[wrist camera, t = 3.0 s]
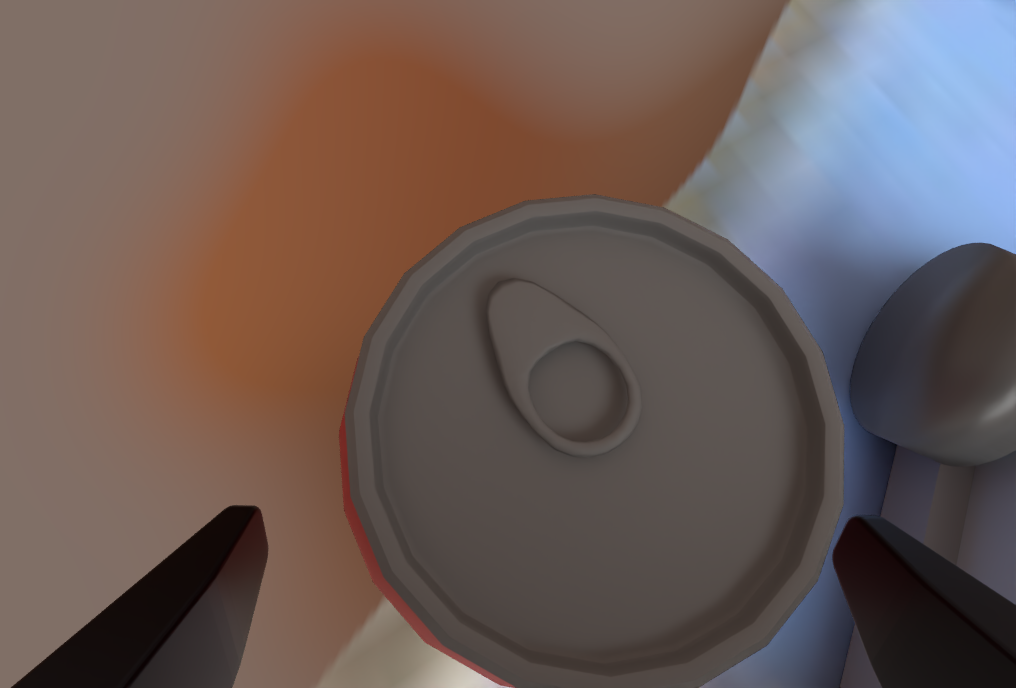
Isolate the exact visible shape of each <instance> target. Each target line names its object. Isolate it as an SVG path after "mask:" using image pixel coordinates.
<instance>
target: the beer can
mask: <svg viewBox="0 0 1016 688" xmlns="http://www.w3.org/2000/svg"><path fill="white" fill-rule="evenodd" d="M339 443H340V458H341V473H342V488H343V502H344V511H345V514H346V517H347V519H348V521H349V524H350V527H351V529H352V532H353V534H354V536H355V539H356V541H357V544H358V546H359V549H360V551H361V554H362V556H363V559H364V561H365V563H366V566H367V568H368V571H369V573H370V576H371V578H372V581H373V583H374V584H375V585H376V586H377V587H378V589H379V590H380V591H381V592H382V593H383V594H384V595H385V597H386V598H387V599H388V600H389V601H390V602H391V604H392V605H393V606H394V607H395V608H396V609H397V611H398V612H399V613H400V614H401V615H402V616H403V617H404V619H405V620H406V621H407V622H408V623H409V624H410V626H411V627H412V628H413V629H414V630H415V631H416V633H417V634H418V635H419V636H420V637H421V638H422V639H423V641H424V642H425V643H427V644H429V645H431V646H432V647H434V648H436V649H438V650H439V651H441V652H443V653H444V654H446V655H448V656H450V657H451V658H453V659H455V660H457V661H458V662H460V663H462V664H464V665H465V666H467V667H469V668H471V669H472V670H474V671H476V672H478V673H479V674H481V675H483V676H485V677H486V678H488V679H490V680H491V681H493V682H495V683H497V684H499V685H501V686H507V687H513V688H699V687H700V686H702V685H703V684H705V683H707V682H708V681H710V680H712V679H713V678H715V677H717V676H718V675H720V674H721V673H723V672H725V671H726V670H728V669H730V668H731V667H733V666H734V665H736V664H738V663H739V662H741V661H743V660H744V659H746V658H748V657H749V656H751V655H752V654H754V653H756V652H757V651H759V650H761V649H762V648H764V647H765V646H767V645H768V644H769V642H770V641H771V640H772V639H773V637H774V636H775V635H776V633H777V632H778V631H779V630H780V628H781V627H782V626H783V624H784V623H785V622H786V621H787V619H788V618H789V617H790V616H791V614H792V613H793V612H794V610H795V609H796V608H797V607H798V605H799V604H800V603H801V602H802V600H803V599H804V598H805V596H806V595H807V594H808V593H809V591H810V590H811V589H812V587H813V586H814V585H815V584H816V582H817V581H818V578H819V575H820V572H821V570H822V567H823V564H824V561H825V558H826V555H827V552H828V549H829V546H830V543H831V540H832V537H833V534H834V531H835V528H836V525H837V522H838V519H839V516H840V513H841V510H842V507H843V497H844V424H843V420H842V417H841V413H840V410H839V406H838V403H837V400H836V396H835V393H834V389H833V386H832V383H831V379H830V376H829V372H828V369H827V366H826V362H825V359H824V355H823V352H822V350H821V349H820V347H819V346H818V344H817V343H816V341H815V339H814V338H813V336H812V335H811V333H810V332H809V330H808V328H807V327H806V325H805V324H804V322H803V320H802V319H801V317H800V316H799V314H798V313H797V311H796V309H795V308H794V306H793V305H792V303H791V302H790V300H789V298H788V297H787V295H786V294H785V292H784V291H783V289H782V288H781V287H780V286H779V285H778V284H777V283H775V282H774V281H773V280H772V279H771V278H770V277H769V276H768V275H767V274H765V273H764V272H763V271H762V270H761V269H760V268H759V267H758V266H757V265H756V264H754V263H753V262H752V261H751V260H750V259H749V258H748V257H747V256H746V255H744V254H743V253H742V252H741V251H740V250H739V249H738V248H737V247H736V246H734V245H733V244H732V243H731V242H730V241H729V240H728V239H726V238H724V237H722V236H720V235H718V234H716V233H714V232H712V231H710V230H708V229H706V228H704V227H702V226H700V225H698V224H696V223H694V222H692V221H690V220H688V219H686V218H684V217H682V216H680V215H678V214H676V213H674V212H672V211H670V210H668V209H666V208H663V207H658V206H653V205H648V204H642V203H637V202H632V201H626V200H622V199H616V198H611V197H606V196H601V195H596V194H593V195H582V196H571V197H561V198H550V199H540V200H530V201H523V202H521V203H519V204H516V205H514V206H511V207H509V208H506V209H504V210H501V211H499V212H497V213H494V214H492V215H489V216H487V217H484V218H482V219H479V220H477V221H474V222H472V223H470V224H467V225H465V226H462V227H460V228H459V229H457V230H456V231H455V232H454V233H453V234H451V235H450V236H449V237H448V238H447V239H446V240H444V241H443V242H442V243H440V244H439V245H438V246H437V247H436V248H435V249H433V250H432V251H431V252H430V253H429V254H427V255H426V256H425V257H424V258H422V259H421V260H420V261H419V262H418V263H416V264H415V265H414V266H413V267H412V268H410V269H409V270H408V271H407V272H405V273H404V275H403V276H402V278H401V279H400V281H399V283H398V284H397V286H396V287H395V289H394V291H393V292H392V294H391V296H390V297H389V298H388V300H387V302H386V303H385V305H384V306H383V308H382V310H381V311H380V313H379V314H378V316H377V317H376V319H375V320H374V322H373V324H372V325H371V327H370V328H369V330H368V332H367V333H366V335H365V336H364V339H363V343H362V347H361V351H360V355H359V357H358V359H357V363H356V367H355V371H354V375H353V379H352V383H351V387H350V390H349V394H348V398H347V402H346V406H345V410H344V414H343V418H342V422H341V426H340V430H339Z"/></svg>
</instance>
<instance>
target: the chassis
mask: <svg viewBox="0 0 1016 688" xmlns="http://www.w3.org/2000/svg"><path fill="white" fill-rule="evenodd" d="M850 398H851V405H852V410H853V413H854V415H855V417H856V419H857V421H858V422H859V424H860V425H861V426H862V427H863V428H864V429H865V430H867V431H868V432H870V433H872V434H874V435H876V436H879V437H881V438H883V439H885V440H888V441H890V442H892V443H895V444H897V447H896V452H895V456H894V460H893V464H892V468H891V473H890V477H889V481H888V485H887V489H886V494H885V498H884V502H883V506H882V511H881V515H880V517H883V518H885V519H886V520H888V521H889V522H891V523H892V524H894V525H895V526H897V527H898V528H900V529H901V530H903V531H905V532H906V533H908V534H909V535H911V536H912V537H914V538H915V539H917V540H918V541H920V542H921V543H923V544H924V545H926V546H927V547H929V548H930V549H932V550H933V551H935V552H936V553H938V554H939V555H941V556H943V557H944V558H946V559H947V560H949V561H950V562H952V563H953V564H955V565H956V566H958V567H959V568H961V569H962V570H964V571H965V572H967V573H968V574H970V575H971V576H973V577H974V578H976V579H978V580H979V581H981V582H982V583H984V584H985V585H987V586H988V587H990V588H991V589H993V590H994V591H996V592H997V593H999V594H1000V595H1002V596H1003V597H1005V598H1006V599H1008V600H1009V601H1011V602H1012V603H1014V604H1016V254H1013V253H1011V252H1009V251H1006V250H1004V249H1001V248H999V247H996V246H994V245H992V244H987V243H970V244H965V245H961V246H958V247H955V248H952V249H950V250H948V251H946V252H944V253H942V254H940V255H938V256H937V257H935V258H933V259H932V260H930V261H929V262H927V263H926V264H925V265H923V266H922V267H921V268H919V269H918V270H917V271H916V272H915V273H913V274H912V275H911V276H910V277H909V278H908V279H907V280H906V281H905V282H904V283H903V284H902V285H901V286H900V287H899V288H898V289H897V290H896V291H895V292H894V293H893V295H892V296H891V297H890V298H889V300H888V301H887V302H886V303H885V305H884V306H883V308H882V309H881V310H880V312H879V313H878V315H877V316H876V318H875V319H874V321H873V323H872V324H871V326H870V328H869V330H868V332H867V333H866V335H865V338H864V340H863V342H862V344H861V346H860V349H859V352H858V354H857V357H856V360H855V364H854V367H853V372H852V377H851V384H850ZM840 688H882V687H881V685H880V683H879V681H878V679H877V677H876V675H875V673H874V670H873V668H872V666H871V664H870V661H869V659H868V656H867V654H866V651H865V649H864V646H863V644H862V641H861V638H860V636H859V633H858V630H857V628H856V625H855V624H854V629H853V633H852V637H851V641H850V645H849V650H848V654H847V658H846V662H845V666H844V671H843V675H842V679H841V683H840Z"/></svg>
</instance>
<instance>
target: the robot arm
mask: <svg viewBox="0 0 1016 688" xmlns="http://www.w3.org/2000/svg"><path fill="white" fill-rule="evenodd" d="M267 558H268V542H267V537H266V532H265V527H264V522H263V517H262V514H261V510H260V509H259V508H258V507H257V506H243V505H233V506H229V507H227V508H226V509H224V510H223V511H222V512H221V513H219V514H218V515H217V516H216V517H215V518H213V519H212V520H211V521H210V522H209V523H207V524H206V525H205V526H204V527H203V528H201V529H200V530H199V531H198V532H197V533H195V534H194V535H193V536H192V537H191V538H190V539H188V540H187V541H186V542H185V543H184V544H182V545H181V546H180V547H179V548H178V549H176V550H175V551H174V552H173V553H172V554H170V555H169V556H168V557H167V558H166V559H165V560H163V561H162V562H161V563H160V564H158V565H157V566H156V567H155V568H154V569H152V570H151V571H150V572H149V573H148V574H146V575H145V576H144V577H143V578H142V579H140V580H139V581H138V582H137V583H136V584H134V585H133V586H132V587H131V588H130V589H128V590H127V591H126V592H125V593H124V594H122V596H120V597H119V598H118V599H116V600H115V601H114V602H113V603H112V604H110V605H109V606H108V607H107V608H106V609H104V610H103V611H102V612H101V613H100V614H98V615H97V616H96V617H95V618H94V619H92V620H91V621H90V622H89V623H88V624H86V625H85V626H84V627H83V628H82V629H81V630H79V631H78V632H77V633H76V634H74V635H73V636H72V637H71V638H70V639H69V640H67V641H66V642H65V643H64V644H63V645H61V646H60V647H59V648H58V649H57V650H55V651H54V652H53V653H52V654H51V655H49V656H48V657H47V658H46V659H45V660H43V661H42V662H41V663H40V664H39V665H37V666H36V667H35V668H34V669H33V670H31V671H30V672H29V673H28V674H27V675H26V676H24V677H23V678H22V679H21V680H20V681H18V682H17V683H16V684H15V685H13V686H12V687H11V688H232V687H233V684H234V681H235V678H236V675H237V673H238V670H239V666H240V663H241V660H242V656H243V653H244V649H245V645H246V641H247V638H248V633H249V630H250V626H251V622H252V617H253V614H254V610H255V606H256V602H257V598H258V594H259V590H260V586H261V582H262V578H263V574H264V570H265V567H266V563H267ZM832 560H833V566H834V569H835V572H836V574H837V577H838V580H839V582H840V585H841V588H842V590H843V593H844V596H845V598H846V601H847V604H848V606H849V609H850V612H851V614H852V617H853V620H854V622H855V625H856V628H857V630H858V633H859V636H860V638H861V641H862V644H863V646H864V649H865V651H866V654H867V656H868V659H869V661H870V664H871V666H872V668H873V670H874V673H875V675H876V677H877V679H878V681H879V683H880V685H881V687H882V688H1016V604H1014V603H1012V602H1011V601H1009V600H1008V599H1006V598H1005V597H1003V596H1002V595H1000V594H999V593H997V592H996V591H994V590H993V589H991V588H990V587H988V586H987V585H985V584H984V583H982V582H981V581H979V580H978V579H976V578H974V577H973V576H971V575H970V574H968V573H967V572H965V571H964V570H962V569H961V568H959V567H958V566H956V565H955V564H953V563H952V562H950V561H949V560H947V559H946V558H944V557H943V556H941V555H939V554H938V553H936V552H935V551H933V550H932V549H930V548H929V547H927V546H926V545H924V544H923V543H921V542H920V541H918V540H917V539H915V538H914V537H912V536H911V535H909V534H908V533H906V532H905V531H903V530H901V529H900V528H898V527H897V526H895V525H894V524H892V523H891V522H889V521H888V520H886V519H885V518H883V517H880V516H876V515H854V516H852V517H850V518H849V519H848V521H847V522H846V524H845V526H844V528H843V531H842V533H841V535H840V537H839V539H838V541H837V543H836V545H835V547H834V549H833V554H832Z"/></svg>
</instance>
